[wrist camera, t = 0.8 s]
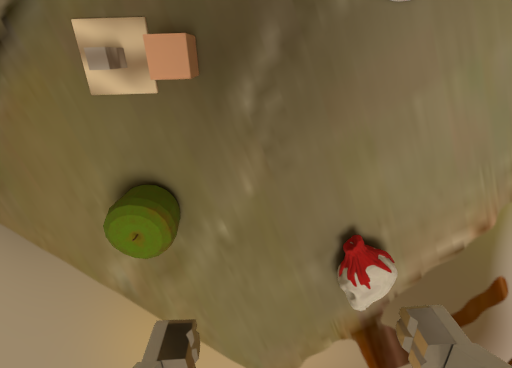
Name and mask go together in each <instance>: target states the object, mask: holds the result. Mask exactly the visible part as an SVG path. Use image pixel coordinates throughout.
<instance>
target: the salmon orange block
mask: <svg viewBox="0 0 512 368" xmlns="http://www.w3.org/2000/svg"><path fill="white" fill-rule="evenodd" d="M143 40H144V45H145V51H146V57H147V62H148V68H149V73H150V79H151V80H163V79H191V78H193V77H196V76H198V75H199V69H198V59H197V50H196V41H195V36H193V35H190V34H187V33H170V34H143Z"/></svg>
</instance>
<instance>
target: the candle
mask: <svg viewBox="0 0 512 368" xmlns="http://www.w3.org/2000/svg"><path fill="white" fill-rule="evenodd" d="M343 249H344V251H345V253H346V255H345V257H344V260H343V261H342V262H341V264H340V265H339V267H338V282H339V283H340V284H339V285H340V287H341V289H343V290H344V291H345V292H346V296H347V299H348V301H349V302H350V304H351V306H352V308H353V309H355V310H359V311H362V310H365V309H366V307H369V305H370V304H372V303H373V302H375V301H377V300H379V299H381V298H382V297H383V296H385V295H386V294H387V293H388V292H389V290H390V289H391V287H392V286H393V284H394V282H395V280H396V277H397V269H396V267H395V266H394V264H393V263H395V262H394V261H393V259H392V258H391V256H390V255H389V254H388V253H387V252H386V251H383V250H381V249H376V248H374V247H371V246H369V245H365V244H364V241H363V239H362V237H361V236H360V235H353V236H352V238H350V239H348V240H347V242H346V243H344V245H343ZM392 262H393V263H392Z"/></svg>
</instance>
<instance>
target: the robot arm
mask: <svg viewBox="0 0 512 368" xmlns="http://www.w3.org/2000/svg"><path fill="white" fill-rule="evenodd" d="M391 1H409V0H391ZM399 315H400V317H401V318H400V319H399V320H398V321H397V324H396V333H397V337H398V340H399V342H400V344H401V346H402V348H403V349H405V350H406V351H407V352H408V353H409V356H408V360H409V362H410V364H411V366H412V368H512V366H511V365H509V364H508V363H506V362H505V361H503V360H501V359H500V358H498V357H497V356H495V355H494V354H492V353H490V352H489V351H487V350H486V349H484V348H483V347H481V346H480V345H478V344H476V343H474V344H473V343H472V342H471V341H470V340H469V338H468V337H467V336H466V335H465V333H464V332H463V331H462V330H461V328H460V327H459V326H458V324H457V323H456V322H455V320H454V319H453V318H452V316H451V315H450V314H449V313H448V311H447V310H446V309H445V308H444V307H443V306H442V305H431V306H426V305H425V306H411V307H402V308H401V309H400V311H399ZM196 329H197V322H196V319H193V320H163V321H157V322H156V323H155V325H154V328H153V331H152V333H151V336H150V339H149V342H148V345H147V348H146V350H145V354H144V356H143V359H142V362H138V363H137V364H136V365H135V366H134V367H133V368H196V367H195V363H196V361H197V360H198V358H199V352H200V336H199V333H198V332H197V331H196Z"/></svg>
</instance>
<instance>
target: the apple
mask: <svg viewBox="0 0 512 368" xmlns="http://www.w3.org/2000/svg"><path fill="white" fill-rule="evenodd" d="M179 220H180V208H179V206H178V204H177V202H176V200H175V198H174V197H173V196H172V195H171V194H170V193H169V192H168V191H167V190H165V189H163V188H161V187H158V186H156V185H141V186H137V187H134V188H132V189H131V190H130V191H128V192H127V193H126V194H125V195H124V196H123V197H121V198H120V199H119V200H118V201H117V202H116V203H115V204H114V205H113V206H111V207H110V208H109V211H108V214H107V216H106V219H105V222H104V225H103V227H104V231H105V235H106V238H107V239H108V240H109V242H110V243H111V244H112V246H113V247H115V248H116V249H118V250H119V251H121V252H122V253H124V254H127V255H129V256H131V257H134V258H143V259H149V258H152V257H156V256H159V255H160V254H161V253H163V252H164V251H166V250H167V249H168V248H169V247H170V246H171V244H172V243H173V241H174V239H175V237H176V235H177V230H178V225H179Z"/></svg>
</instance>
